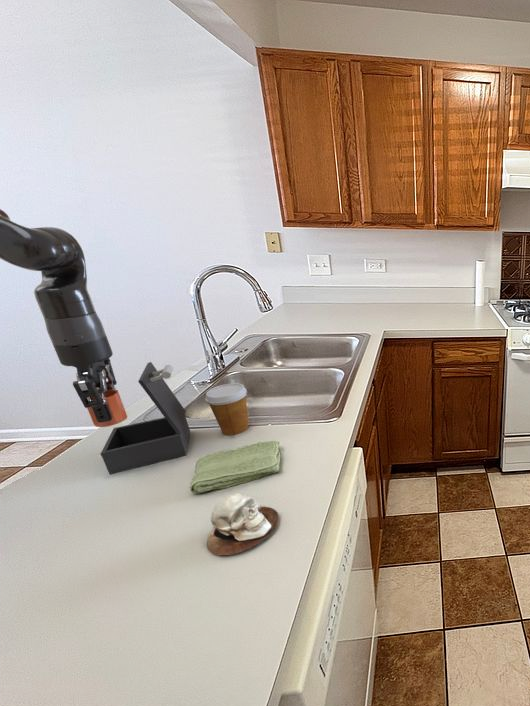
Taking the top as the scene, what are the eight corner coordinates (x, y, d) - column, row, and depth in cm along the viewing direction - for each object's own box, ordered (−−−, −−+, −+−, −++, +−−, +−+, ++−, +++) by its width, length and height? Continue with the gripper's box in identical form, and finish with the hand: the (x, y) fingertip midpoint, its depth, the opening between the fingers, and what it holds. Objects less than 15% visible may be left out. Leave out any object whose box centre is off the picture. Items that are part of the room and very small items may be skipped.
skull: (296, 508, 79) (260, 502, 70) (271, 564, 75) (230, 565, 66) (250, 493, 83) (211, 484, 74) (224, 545, 79) (179, 543, 70)
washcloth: (282, 474, 91) (280, 462, 90) (190, 499, 83) (186, 486, 82) (280, 445, 102) (277, 434, 100) (198, 465, 94) (194, 453, 93)
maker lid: (137, 381, 88) (163, 372, 90) (147, 363, 98) (170, 354, 100) (177, 434, 95) (200, 424, 97) (182, 412, 105) (202, 403, 107)
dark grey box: (109, 474, 91) (100, 453, 89) (121, 447, 101) (113, 427, 99) (186, 455, 98) (179, 435, 95) (190, 431, 108) (184, 413, 106)
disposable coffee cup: (229, 420, 113) (219, 382, 109) (262, 420, 113) (253, 382, 109) (207, 438, 105) (194, 398, 100) (242, 439, 104) (231, 398, 100)
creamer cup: (88, 428, 80) (77, 402, 77) (103, 416, 84) (93, 390, 82) (119, 425, 81) (108, 399, 79) (132, 413, 85) (123, 388, 83)
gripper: (66, 330, 80) (95, 404, 86) (36, 352, 68) (73, 436, 75) (114, 325, 83) (139, 396, 90) (94, 345, 72) (124, 425, 78)
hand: (109, 414), depth 82 cm, fingers closed on creamer cup, 5 cm apart
